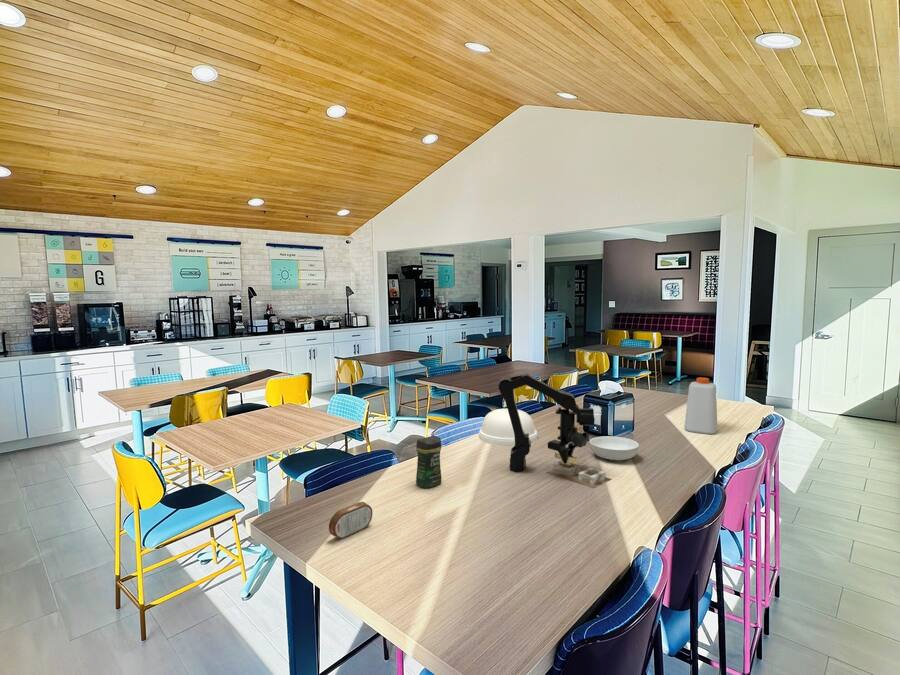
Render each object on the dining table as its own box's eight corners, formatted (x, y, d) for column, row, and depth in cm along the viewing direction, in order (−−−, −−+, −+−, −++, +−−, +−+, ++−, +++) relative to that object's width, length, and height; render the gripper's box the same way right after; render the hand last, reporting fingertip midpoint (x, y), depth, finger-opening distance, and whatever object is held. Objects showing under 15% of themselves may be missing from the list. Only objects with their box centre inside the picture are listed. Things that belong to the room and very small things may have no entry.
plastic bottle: (717, 428, 262) (720, 377, 259) (715, 435, 249) (718, 381, 246) (686, 424, 270) (688, 375, 267) (683, 431, 257) (685, 379, 254)
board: (594, 490, 181) (594, 480, 180) (545, 474, 197) (545, 465, 196) (612, 481, 189) (612, 471, 189) (564, 467, 205) (564, 457, 205)
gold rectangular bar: (575, 476, 193) (576, 458, 192) (554, 469, 200) (554, 452, 199) (578, 474, 194) (578, 457, 193) (557, 468, 201) (557, 451, 201)
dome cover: (467, 433, 257) (467, 407, 256) (515, 426, 269) (516, 401, 268) (498, 450, 228) (498, 421, 227) (551, 442, 240) (551, 414, 239)
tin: (368, 522, 157) (367, 497, 156) (374, 525, 154) (374, 500, 154) (328, 540, 145) (327, 513, 145) (334, 544, 143) (333, 516, 142)
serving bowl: (631, 450, 227) (631, 436, 226) (644, 466, 206) (645, 450, 205) (585, 449, 229) (585, 435, 228) (594, 464, 208) (594, 449, 207)
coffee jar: (426, 490, 182) (425, 442, 180) (412, 484, 187) (412, 437, 186) (445, 483, 188) (445, 436, 186) (431, 478, 194) (431, 432, 192)
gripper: (571, 433, 183) (570, 473, 184) (597, 424, 195) (596, 461, 197) (546, 427, 191) (546, 466, 193) (573, 419, 204) (573, 455, 205)
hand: (566, 462), depth 197 cm, fingers closed on gold rectangular bar, 2 cm apart
